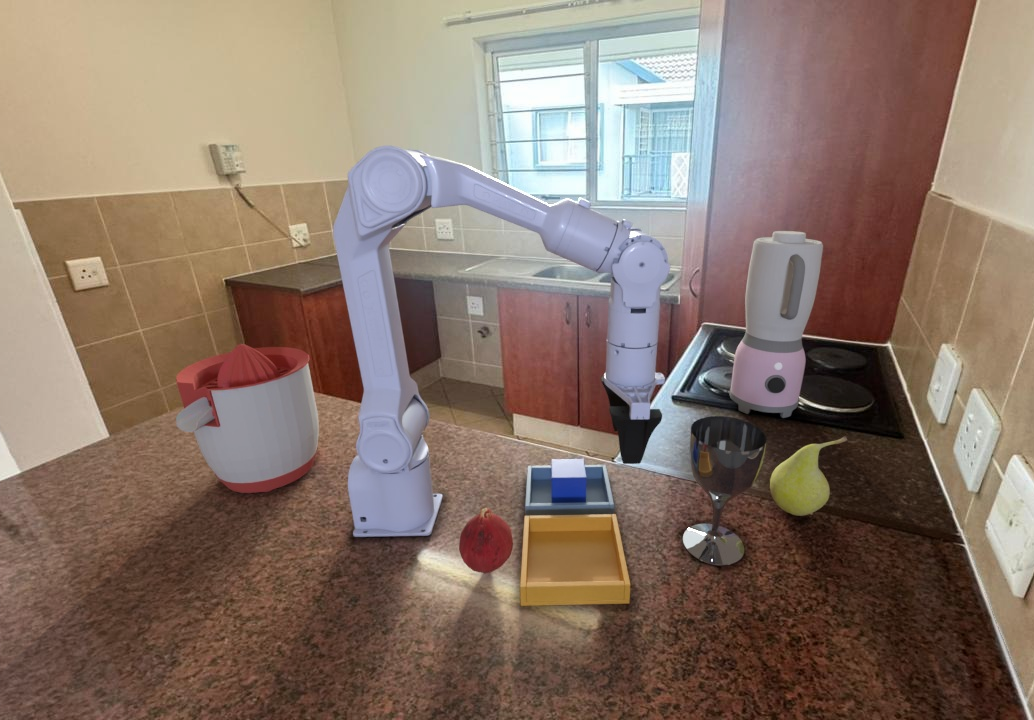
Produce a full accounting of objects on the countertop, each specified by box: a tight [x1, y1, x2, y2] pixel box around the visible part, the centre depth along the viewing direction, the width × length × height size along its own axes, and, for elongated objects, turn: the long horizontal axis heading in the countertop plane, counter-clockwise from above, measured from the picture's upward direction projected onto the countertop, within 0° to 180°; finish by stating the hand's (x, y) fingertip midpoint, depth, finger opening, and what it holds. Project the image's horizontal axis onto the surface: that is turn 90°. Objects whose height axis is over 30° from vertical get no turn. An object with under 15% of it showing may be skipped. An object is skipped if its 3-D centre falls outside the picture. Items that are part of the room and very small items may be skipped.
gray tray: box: [524, 464, 615, 516], centre depth 67 cm, size 11×9×2 cm
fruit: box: [769, 436, 848, 517], centre depth 64 cm, size 7×8×12 cm
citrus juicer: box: [175, 343, 320, 494], centre depth 70 cm, size 16×17×20 cm
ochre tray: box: [519, 513, 631, 607], centre depth 56 cm, size 11×11×2 cm
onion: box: [458, 507, 514, 574], centre depth 54 cm, size 6×6×8 cm
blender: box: [729, 230, 824, 419], centre depth 88 cm, size 16×12×32 cm
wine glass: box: [682, 415, 768, 566], centre depth 57 cm, size 8×8×15 cm
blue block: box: [550, 458, 587, 503], centre depth 67 cm, size 4×4×4 cm
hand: (626, 445), depth 62 cm, fingers open, 7 cm apart
